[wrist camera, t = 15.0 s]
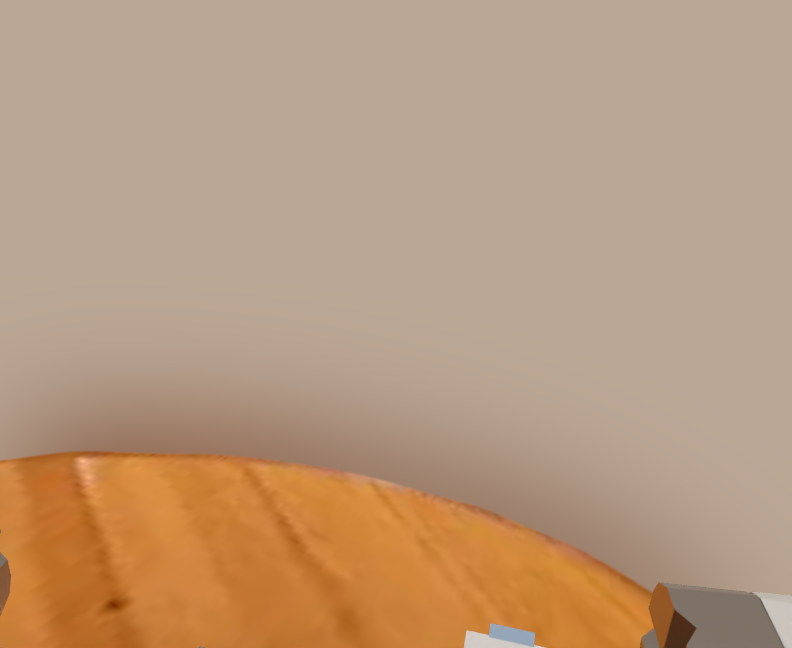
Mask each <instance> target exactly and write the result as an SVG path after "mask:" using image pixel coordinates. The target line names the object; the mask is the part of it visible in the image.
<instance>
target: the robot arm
mask: <svg viewBox="0 0 792 648" xmlns="http://www.w3.org/2000/svg"><path fill="white" fill-rule="evenodd" d="M0 533H1V531H0ZM10 581H11V574H10V569H9V565H8V560H7V559H6V558H5V557H4V556H3V555H2V554H1V553H0V615H1V613H2V610H3V608H4V606H5V603H6V601H7V599H8V596H9V593H10ZM649 611H650V615H651V618H652V622H653V625H654V629H652V630H651V631H650V632H648V633H647V634H646V635H644V636H643V637H642V638H641V643H640V648H792V596H791V595H780V594H771V593H770V594H769V593H760V592H750V593H747V592H743V591H734V590H723V589H715V588H706V587H696V586H687V585H677V584H668V583H658V584H657V586H656V588H655V589H654V591H653V594H652V598H651V602H650V605H649Z"/></svg>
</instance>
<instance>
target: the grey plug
mask: <svg viewBox="0 0 792 648" xmlns="http://www.w3.org/2000/svg"><path fill="white" fill-rule="evenodd" d="M534 639H535V633H533V632H528V631H524V630H519V629H515V628H510V627H505V626H501V625H496V624H492V623H491V625H490V632H489V635H485V634H481V633H476V632H472V631H467V633H466V638H465V644H464V648H544V647H540V646H535V645H534Z"/></svg>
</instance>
